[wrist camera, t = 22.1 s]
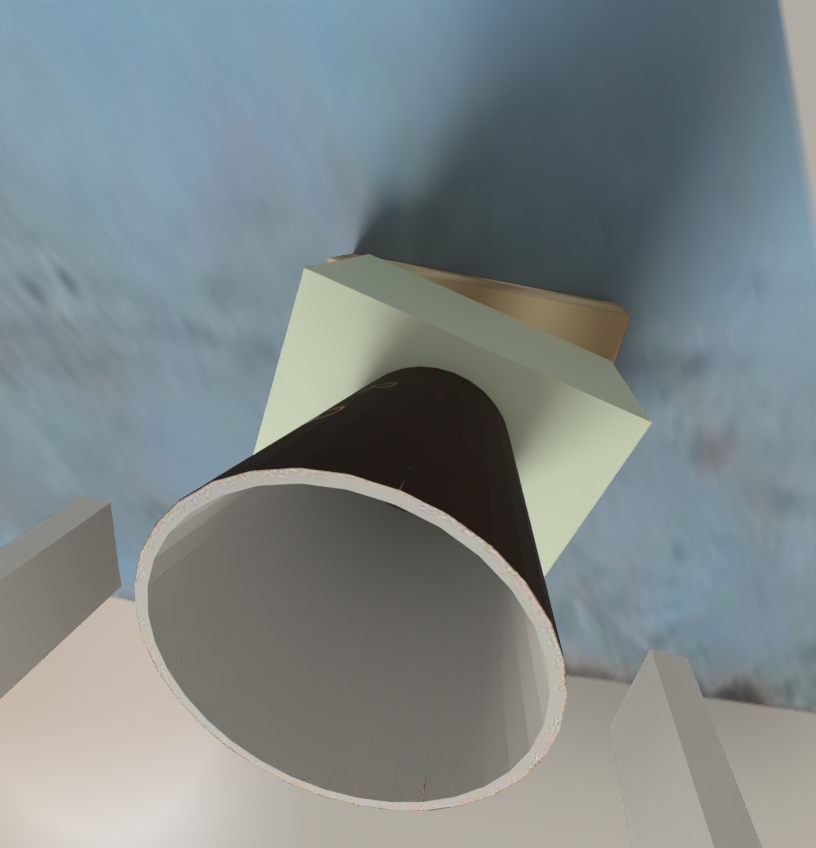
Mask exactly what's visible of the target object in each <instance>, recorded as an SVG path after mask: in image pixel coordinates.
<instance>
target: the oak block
mask: <svg viewBox="0 0 816 848" xmlns="http://www.w3.org/2000/svg"><path fill="white" fill-rule="evenodd" d="M357 256H362V255H358V254H348V255H342V256H337V257H332V258H328V263H329V262H334V261H339V260H343V259H348V258H353V257H357ZM382 260H384V259H382ZM384 261H386V262H389V263H391V264H393V265H395V266H398V267H400V268H402V269H405V270H407V271H409V272H411V273H414V274H416V275H418V276H420V277H423V278H425V279H427V280H429V281H432V282H434V283H436V284H438V285H441V286H443V287H445V288H448V289H450V290H452V291H454V292H457V293H459V294H461V295H463V296H466V297H468V298H470V299H472V300H475V301H477V302H479V303H482V304H484V305H486V306H488V307H491V308H493V309H495V310H497V311H500V312H502V313H504V314H506V315H509V316H511V317H513V318H515V319H518V320H520V321H522V322H525V323H527V324H529V325H531V326H534V327H536V328H538V329H540V330H543V331H545V332H547V333H549V334H552V335H554V336H556V337H559V338H561V339H563V340H565V341H568V342H570V343H572V344H574V345H577V346H579V347H581V348H583V349H586V350H588V351H590V352H592V353H595V354H597V355H599V356H602V357H604V358H606V359H608V360H611V361H612V363H613V364H614V363H615V360H616V357H617V354H618V351H619V349H620V346H621V343H622V340H623V337H624V334H625V331H626V328H627V326H628V323H629V320H630V317H631V316H630V315H629V314H628V313H627V312H626V311H624V310H623V309H622V308H621V307H620V306H618V305H617V304H616V303H613V302H608V301H603V300H597V299H592V298H587V297H581V296H576V295H571V294H565V293H560V292H555V291H549V290H544V289H539V288H533V287H528V286H523V285H517V284H512V283H507V282H501V281H496V280H491V279H486V278H480V277H475V276H470V275H464V274H459V273H454V272H448V271H443V270H438V269H432V268H427V267H422V266H416V265H411V264H406V263H400V262H395V261H390V260H384Z"/></svg>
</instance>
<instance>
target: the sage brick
mask: <svg viewBox="0 0 816 848" xmlns="http://www.w3.org/2000/svg"><path fill="white" fill-rule="evenodd" d="M419 366H420V367H432V368H439V369H443V370H446V371H450V372H453V373H456V374H458V375H460V376H462V377H464V378H466V379H468V380H470V381H471V382H472V383H474V384H475V385H476V386H478V387H479V388H480V389H482V390H483V391H484V392H485V393H486V394H487V395H488V397H489V398H490V399H491V400H492V401H493V402H494V403H495V405H496V406H497V408H498V410H499V411H500V413H501V415H502V417H503V418H504V421H505V424H506V427H507V430H508V433H509V437H510V442H511V446H512V450H513V454H514V458H515V462H516V466H517V470H518V474H519V478H520V482H521V486H522V490H523V494H524V498H525V502H526V506H527V510H528V514H529V519H530V523H531V527H532V531H533V535H534V539H535V543H536V547H537V551H538V555H539V559H540V563H541V567H542V571H543V575H544V577H545V575H546V574H547V572H548V571H549V569H550V568H551V567H552V565H553V564H554V562H555V561H556V559H557V558H558V557H559V555H560V554H561V552H562V551H563V549H564V548H565V547H566V545H567V544H568V542H569V541H570V539H571V538H572V537H573V535H574V534H575V532H576V531H577V529H578V528H579V527H580V525H581V524H582V522H583V521H584V519H585V518H586V516H587V515H588V514H589V512H590V511H591V509H592V508H593V506H594V505H595V504H596V502H597V501H598V499H599V498H600V496H601V495H602V494H603V492H604V491H605V489H606V488H607V486H608V485H609V484H610V482H611V481H612V479H613V478H614V476H615V475H616V474H617V472H618V471H619V469H620V468H621V466H622V465H623V464H624V462H625V461H626V459H627V458H628V456H629V455H630V454H631V452H632V451H633V449H634V448H635V446H636V445H637V444H638V442H639V441H640V439H641V438H642V436H643V435H644V434H645V432H646V431H647V429H648V428H649V426H650V425H651V423H652V422H651V420H650V419H649V417H648V416H647V414H646V413H645V411H644V410H643V408H642V407H641V405H640V404H639V402H638V401H637V399H636V398H635V396H634V395H633V393H632V392H631V390H630V389H629V387H628V386H627V384H626V383H625V381H624V379H623V378H622V376H621V375H620V373H619V372H618V370H617V369H616V367H615V366H614V364H613V363H612V361H611V360H608V359H606V358H604V357H602V356H599V355H597V354H595V353H592V352H590V351H588V350H586V349H583V348H581V347H579V346H577V345H574V344H572V343H570V342H568V341H565V340H563V339H561V338H559V337H556V336H554V335H552V334H549V333H547V332H545V331H543V330H540V329H538V328H536V327H534V326H531V325H529V324H527V323H525V322H522V321H520V320H518V319H515V318H513V317H511V316H509V315H506V314H504V313H502V312H500V311H497V310H495V309H493V308H491V307H488V306H486V305H484V304H482V303H479V302H477V301H475V300H472V299H470V298H468V297H466V296H463V295H461V294H459V293H457V292H454V291H452V290H450V289H448V288H445V287H443V286H441V285H438V284H436V283H434V282H432V281H429V280H427V279H425V278H423V277H420V276H418V275H416V274H414V273H411V272H409V271H407V270H405V269H402V268H400V267H398V266H395V265H393V264H391V263H389V262H386V261H384V260H382V259H380V258H377V257H375V256H373V255H371V254H367V255H362V256H357V257H353V258H348V259H343V260H339V261H334V262H329V263H324V264H320V265H315V266H310V267H306V268H304V271H303V275H302V278H301V282H300V286H299V289H298V293H297V296H296V300H295V304H294V307H293V311H292V315H291V318H290V322H289V326H288V329H287V333H286V337H285V340H284V344H283V348H282V351H281V355H280V359H279V362H278V366H277V370H276V373H275V377H274V381H273V384H272V388H271V392H270V395H269V399H268V402H267V406H266V410H265V413H264V417H263V421H262V424H261V428H260V432H259V435H258V439H257V443H256V446H255V450H254V454H256V453H257V452H259V451H260V450H262V449H264V448H265V447H267V446H269V445H270V444H272V443H273V442H275V441H277V440H278V439H280V438H282V437H283V436H285V435H287V434H288V433H290V432H291V431H293V430H295V429H296V428H298V427H300V426H301V425H303V424H305V423H306V422H308V421H309V420H311V419H313V418H314V417H316V416H318V415H319V414H321V413H323V412H324V411H326V410H327V409H329V408H331V407H332V406H334V405H336V404H337V403H339V402H340V401H342V400H344V399H345V398H347V397H349V396H350V395H352V394H354V393H355V392H357V391H358V390H360V389H362V388H363V387H365V386H367V385H368V384H370V383H372V382H373V381H375V380H377V379H378V378H380V377H382V376H384V375H385V374H387V373H390V372H393V371H396V370H399V369H402V368H410V367H419ZM254 454H253V455H254Z"/></svg>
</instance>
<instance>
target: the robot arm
mask: <svg viewBox="0 0 816 848" xmlns="http://www.w3.org/2000/svg"><path fill="white" fill-rule="evenodd" d="M119 587H121V581H120V574H119V566H118V558H117V551H116V543H115V535H114V528H113V520H112V512H111V504H110V503H109V502H106V501H102V500H98V499H94V498H91V497H87V496H81V497H80V498H78V499H77V500H75V501H74V502H72V503H71V504H69V505H67V506H66V507H64V508H63V509H61V510H60V511H58V512H57V513H55V514H53V515H52V516H50V517H49V518H47V519H46V520H44V521H43V522H41V523H39V524H38V525H36V526H35V527H33V528H32V529H30V530H29V531H27V532H25V533H24V534H22V535H21V536H19V537H18V538H16V539H15V540H13V541H11V542H10V543H8V544H7V545H5V546H4V547H2V548H1V549H0V699H1V698H2V697H3V696H4V695H5V694H6V693H7V692H8V691H9V690H10V689H11V688H12V687H13V686H15V685H16V684H17V683H18V682H19V681H20V680H21V679H22V678H23V677H24V676H25V675H26V674H27V673H29V671H31V670H32V669H33V668H34V667H35V666H36V665H37V664H38V663H39V662H40V661H41V660H42V659H43V658H45V656H47V655H48V654H49V653H50V652H51V651H52V650H53V649H54V648H55V647H56V646H57V645H58V644H59V643H60V642H62V641H63V640H64V639H65V638H66V637H67V636H68V635H69V634H70V633H71V632H72V631H73V630H75V629H76V627H78V626H79V625H80V624H81V623H82V622H83V621H84V620H85V619H86V618H87V617H88V616H89V615H91V614H92V613H93V612H94V611H95V610H96V609H97V608H98V607H99V606H100V605H101V604H102V603H103V602H104V601H106V600H107V599H108V598H109V597H110V596H111V595H112V594H113V593H114V592H115V591H116V590H117V589H118V588H119ZM609 731H610V736H611V742H612V747H613V753H614V758H615V763H616V769H617V774H618V779H619V784H620V790H621V796H622V801H623V806H624V812H625V817H626V822H627V828H628V833H629V838H630V844H631V848H762V846H761V844H760V842H759V839H758V836H757V834H756V831H755V829H754V826H753V823H752V821H751V818H750V816H749V813H748V811H747V808H746V806H745V803H744V801H743V798H742V796H741V793H740V791H739V788H738V785H737V783H736V780H735V778H734V775H733V773H732V770H731V768H730V765H729V763H728V760H727V758H726V755H725V753H724V750H723V747H722V745H721V742H720V740H719V737H718V735H717V732H716V730H715V727H714V725H713V722H712V720H711V717H710V715H709V712H708V709H707V707H706V704H705V702H704V699H703V697H702V694H701V692H700V689H699V687H698V684H697V682H696V679H695V676H694V674H693V671H692V669H691V666H690V664H689V661H688V659H687V658H685V657H681V656H678V655H674V654H670V653H667V652H663V651H659V650H655V649H652V648H650V650H649V652H648V654H647V656H646V658H645V660H644V662H643V664H642V666H641V668H640V670H639V671H638V673H637V675H636V677H635V679H634V681H633V683H632V685H631V687H630V689H629V691H628V693H627V695H626V697H625V698H624V700H623V702H622V704H621V706H620V708H619V710H618V712H617V714H616V716H615V718H614V719H613V721H612V723H611V726H610V727H609Z"/></svg>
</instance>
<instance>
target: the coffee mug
mask: <svg viewBox="0 0 816 848" xmlns="http://www.w3.org/2000/svg"><path fill="white" fill-rule="evenodd" d="M135 604H136V614H137V617H138V621H139V625H140V629H141V633H142V636H143V640H144V643H145V645H146V647H147V649H148V651H149V653H150V655H151V657H152V660H153V662H154V664H155V666H156V668H157V670H158V672H159V673H160V674H161V676H162V677H163V679H164V680H165V682H166V683H167V685H168V686H169V688H170V689H171V691H172V692H173V694H174V695H175V696H176V698H177V699H178V700H179V701H180V702H181V703H182V705H183V706H184V707H185V708H186V709H187V710H188V711H189V712H190V713H191V714H192V715H193V716H194V717H195V719H196V720H197V721H198V722H199V723H200V724H201V725H202V726H204V727H205V728H206V729H207V730H208V731H210V733H212V734H213V735H214V736H215V737H216V738H218V739H219V740H220V741H221V742H222V743H223V744H224V745H226V746H227V747H228V748H230V749H232V750H233V751H234V752H236V753H237V754H239V755H240V756H242V757H243V758H245V759H246V760H248V761H249V762H251V763H252V764H254V765H255V766H257V767H259V768H261V769H262V770H264V771H266V772H268V773H270V774H272V775H274V776H276V777H278V778H280V779H282V780H284V781H286V782H288V783H290V784H292V785H295V786H297V787H300V788H303V789H305V790H308V791H310V792H313V793H315V794H318V795H321V796H323V797H327V798H331V799H335V800H339V801H342V802H347V803H350V804H354V805H358V806H366V807H372V808H379V809H388V810H416V811H420V810H423V811H424V810H426V811H427V810H428V811H429V810H436V809H442V808H449V807H456V806H462V805H466V804H469V803H472V802H475V801H478V800H481V799H484V798H487V797H490V796H493V795H495V794H497V793H498V792H500V791H502V790H504V789H505V788H507V787H509V786H511V785H512V784H514V783H516V782H517V781H519V780H521V779H522V778H523V777H524V776H525V775H526V774H527V773H528V772H529V771H530V770H531V769H532V768H534V766H536V764H538V763H539V762H540V761H541V760H542V759H543V758H544V757H545V755H546V753H547V751H548V749H549V748H550V746H551V744H552V742H553V741H554V739H555V737H556V735H557V734H558V732H559V730H560V727H561V722H562V718H563V713H564V709H565V704H566V699H567V689H566V674H565V660H564V656H563V652H562V648H561V644H560V640H559V636H558V632H557V628H556V624H555V620H554V616H553V612H552V608H551V604H550V600H549V596H548V591H547V587H546V583H545V579H544V575H543V571H542V567H541V563H540V559H539V555H538V551H537V547H536V543H535V539H534V535H533V531H532V527H531V523H530V519H529V514H528V510H527V506H526V502H525V498H524V494H523V490H522V486H521V482H520V478H519V474H518V470H517V466H516V462H515V458H514V454H513V450H512V446H511V442H510V437H509V433H508V430H507V427H506V424H505V421H504V418H503V417H502V415H501V413H500V411H499V410H498V408H497V406H496V405H495V403H494V402H493V401H492V400H491V399H490V398H489V397H488V395H487V394H486V393H485V392H484V391H483V390H482V389H480V388H479V387H478V386H476V385H475V384H474V383H472V382H471V381H470V380H468V379H466V378H464V377H462V376H460V375H458V374H456V373H453V372H450V371H446V370H443V369H439V368H432V367H420V366H419V367H410V368H402V369H399V370H396V371H393V372H390V373H387V374H385V375H384V376H382V377H380V378H378V379H377V380H375V381H373V382H372V383H370V384H368V385H367V386H365V387H363V388H362V389H360V390H358V391H357V392H355V393H354V394H352V395H350V396H349V397H347V398H345V399H344V400H342V401H340V402H339V403H337V404H336V405H334V406H332V407H331V408H329V409H327V410H326V411H324V412H323V413H321V414H319V415H318V416H316V417H314V418H313V419H311V420H309V421H308V422H306V423H305V424H303V425H301V426H300V427H298V428H296V429H295V430H293V431H291V432H290V433H288V434H287V435H285V436H283V437H282V438H280V439H278V440H277V441H275V442H273V443H272V444H270V445H269V446H267V447H265V448H264V449H262V450H260V451H259V452H257V453H256V454H254V455H252V456H251V457H249V458H247V459H246V460H244V461H242V462H241V463H239V464H238V465H236V466H234V467H233V468H231V469H229V470H228V471H226V472H224V473H223V474H221V475H220V476H218V477H216V478H215V479H213V480H211V481H210V482H208V483H206V484H205V485H203V486H202V487H200V488H198V489H197V490H195V491H193V492H192V493H190V494H189V495H187V496H185V497H184V498H182V499H180V500H179V501H178V502H177V503H176V504H175V505H174V506H173V507H172V508H171V509H170V510H169V511H168V512H167V513H166V514H165V515H164V516H163V517H162V518H161V519H160V520H159V521H158V522H157V523H156V524H155V526H154V528H153V530H152V532H151V534H150V535H149V537H148V539H147V541H146V543H145V545H144V546H143V548H142V550H141V554H140V558H139V563H138V567H137V572H136V576H135Z"/></svg>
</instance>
